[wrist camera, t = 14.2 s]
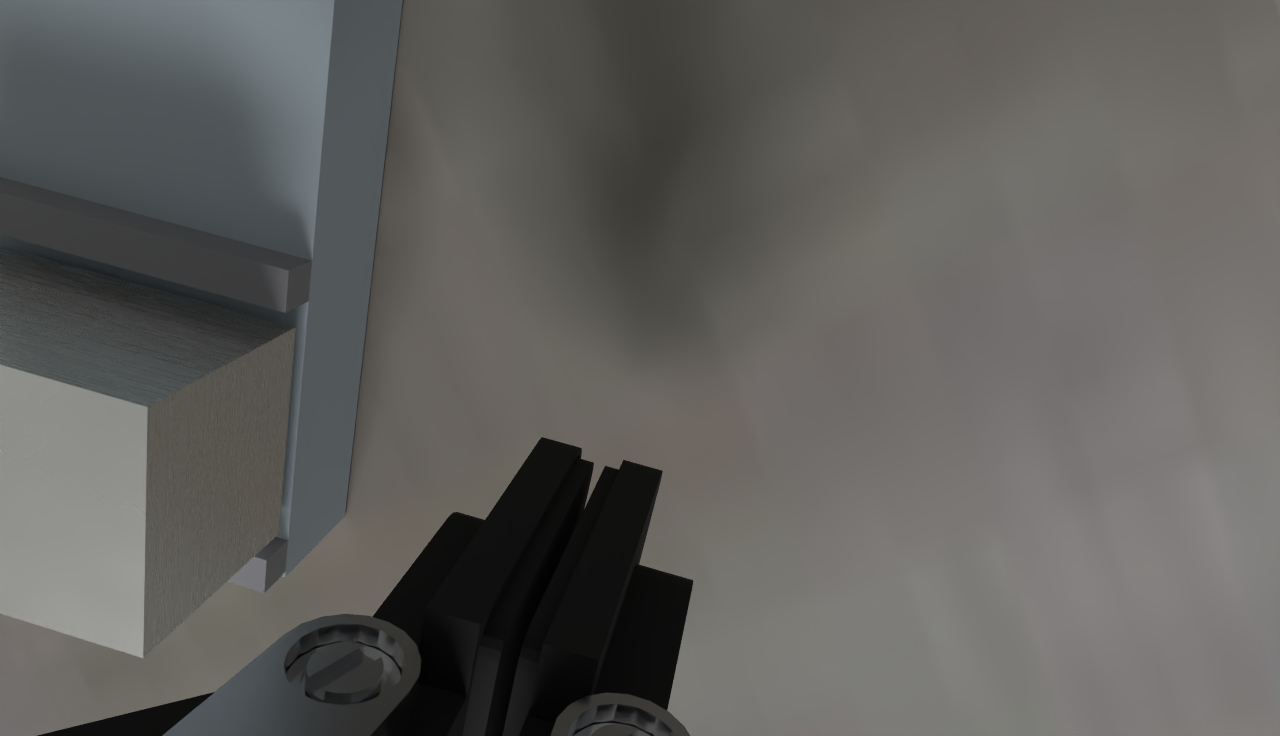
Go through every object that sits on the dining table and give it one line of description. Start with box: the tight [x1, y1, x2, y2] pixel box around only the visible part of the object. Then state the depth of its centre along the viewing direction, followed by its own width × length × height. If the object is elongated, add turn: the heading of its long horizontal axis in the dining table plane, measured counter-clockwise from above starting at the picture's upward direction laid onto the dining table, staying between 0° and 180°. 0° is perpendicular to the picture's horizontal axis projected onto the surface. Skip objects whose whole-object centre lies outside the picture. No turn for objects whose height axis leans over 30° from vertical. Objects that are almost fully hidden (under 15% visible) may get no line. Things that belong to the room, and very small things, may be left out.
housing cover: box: [0, 246, 296, 658], centre depth 12 cm, size 5×3×3 cm
